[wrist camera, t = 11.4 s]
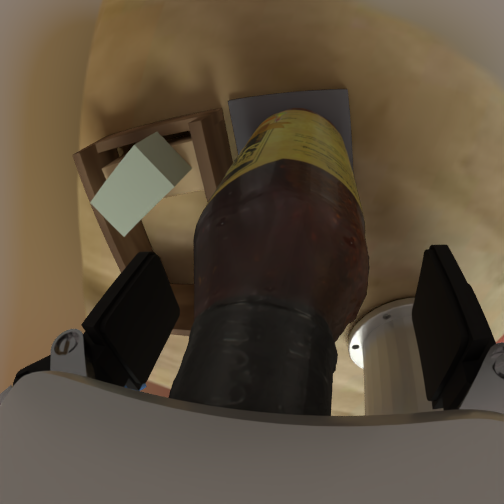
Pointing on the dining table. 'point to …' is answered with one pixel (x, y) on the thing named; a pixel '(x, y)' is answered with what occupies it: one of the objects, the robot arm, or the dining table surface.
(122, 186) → the offcut top
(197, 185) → the plate
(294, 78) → the dining table surface
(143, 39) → the dining table surface
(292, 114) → the sauce bottle
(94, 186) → the wooden tray
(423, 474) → the robot arm
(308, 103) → the mat
